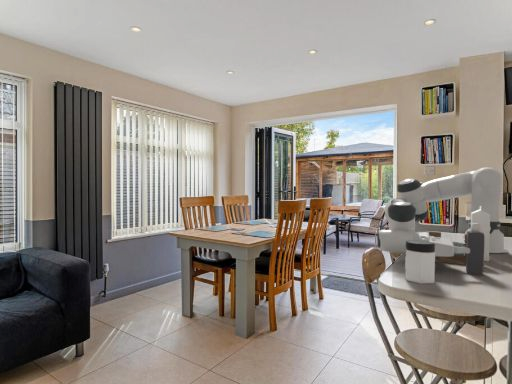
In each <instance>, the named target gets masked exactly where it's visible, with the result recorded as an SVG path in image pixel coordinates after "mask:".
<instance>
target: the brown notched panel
mask: <svg viewBox="0 0 512 384" xmlns="http://www.w3.org/2000/svg"><path fill="white" fill-rule="evenodd" d="M423 232H429V236H434V237H442V232H441V231H434V230H433V231H432V230H431V231H430V230H424V231H423ZM484 238H485V236H484ZM464 243H466V244H467V234H465V242H464ZM466 256H467V253H464V256H462V255H454V256H452V257H439V256H435V262H440V263H449V264H457V265H466ZM484 262H485V261H484V253H483V268H484V266H485V265H484V264H485V263H484Z"/></svg>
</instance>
